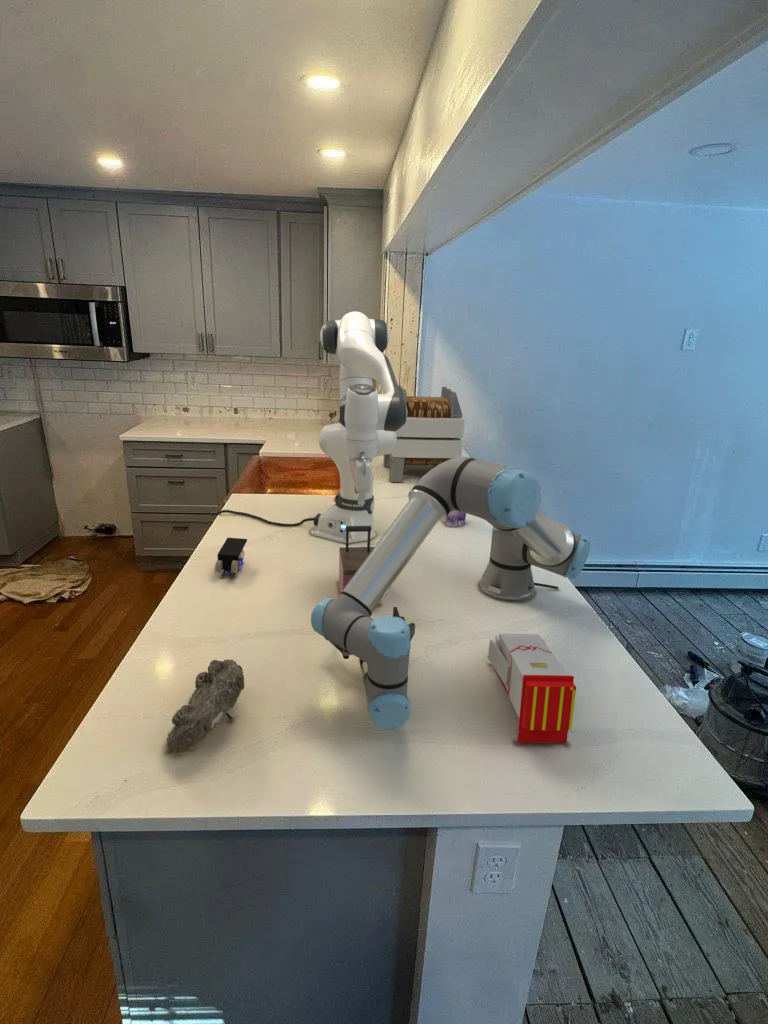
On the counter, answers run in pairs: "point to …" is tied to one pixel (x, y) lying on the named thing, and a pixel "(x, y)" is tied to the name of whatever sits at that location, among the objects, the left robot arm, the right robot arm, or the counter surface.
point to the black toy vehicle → (230, 556)
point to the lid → (354, 551)
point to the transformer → (427, 433)
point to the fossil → (206, 705)
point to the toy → (534, 687)
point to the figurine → (455, 518)
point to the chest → (343, 577)
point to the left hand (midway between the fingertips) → (359, 498)
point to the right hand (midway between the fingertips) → (366, 613)
